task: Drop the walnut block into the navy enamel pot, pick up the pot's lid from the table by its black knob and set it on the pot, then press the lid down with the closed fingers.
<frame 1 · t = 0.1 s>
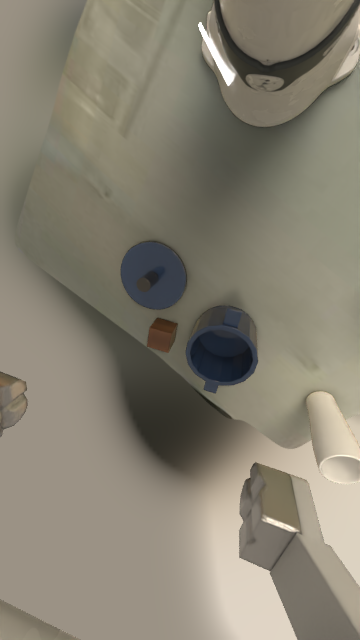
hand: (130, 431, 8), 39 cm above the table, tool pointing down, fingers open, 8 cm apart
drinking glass: (319, 399, 51), on the table
pot: (225, 333, 49), on the table
lid: (153, 276, 47), point 1 cm above the table
block: (165, 329, 53), on the table
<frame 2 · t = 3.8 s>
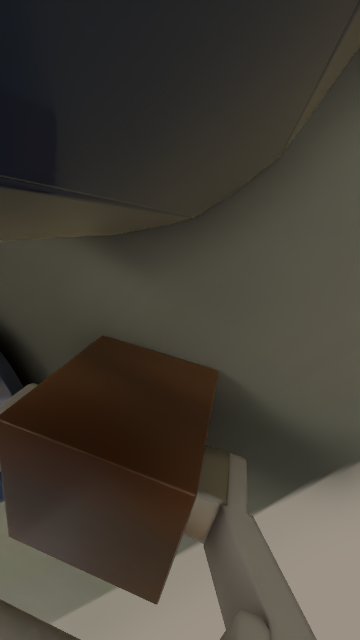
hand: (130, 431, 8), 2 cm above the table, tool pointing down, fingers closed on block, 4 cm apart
block: (149, 399, 10), on the table, touching gripper
when the fingers open (9 cm above the table, at t = 9.3 s): block stays where it is, resting on pot.
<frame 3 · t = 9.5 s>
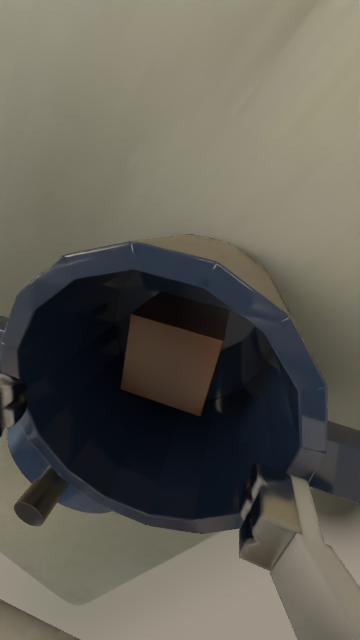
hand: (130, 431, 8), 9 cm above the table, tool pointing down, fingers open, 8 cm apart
pot: (189, 329, 17), on the table
lid: (70, 458, 24), point 1 cm above the table
block: (186, 332, 16), resting on pot
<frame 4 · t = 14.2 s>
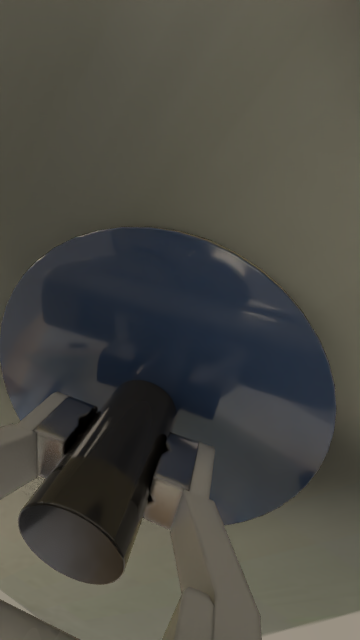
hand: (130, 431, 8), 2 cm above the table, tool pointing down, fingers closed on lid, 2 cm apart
lid: (149, 398, 10), point 1 cm above the table, touching gripper
when the fingers open (10 cm above the table, at t = 19.8 s): lid stays where it is, resting on pot.
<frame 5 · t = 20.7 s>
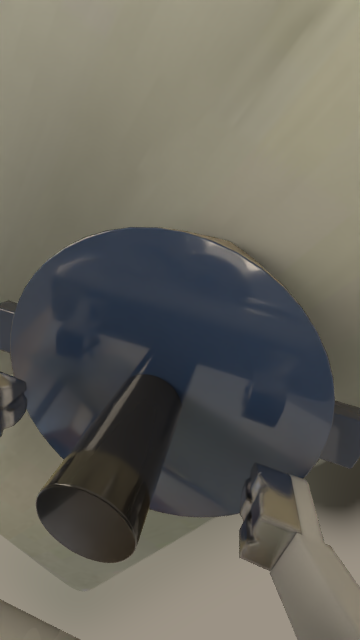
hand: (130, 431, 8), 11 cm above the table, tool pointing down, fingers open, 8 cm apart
pot: (192, 321, 18), on the table
lid: (154, 392, 10), point 8 cm above the table, touching pot
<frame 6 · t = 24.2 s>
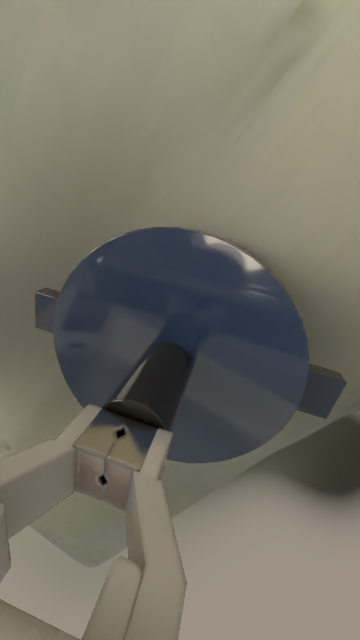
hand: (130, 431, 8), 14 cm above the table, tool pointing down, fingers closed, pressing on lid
pot: (196, 309, 21), on the table
lid: (170, 359, 13), point 8 cm above the table, touching gripper, pot
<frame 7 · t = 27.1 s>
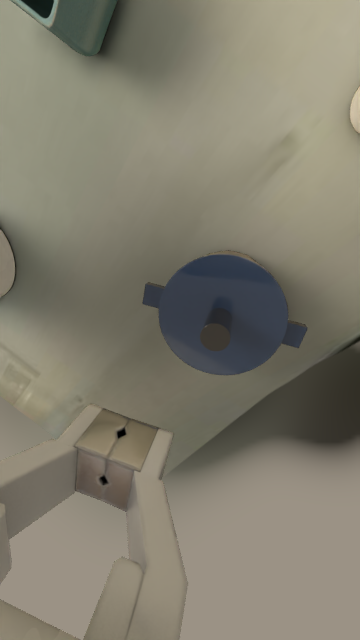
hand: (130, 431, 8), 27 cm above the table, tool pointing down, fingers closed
pot: (224, 296, 34), on the table
lid: (219, 317, 26), point 8 cm above the table, touching pot
flower pot: (90, 16, 27), on the table
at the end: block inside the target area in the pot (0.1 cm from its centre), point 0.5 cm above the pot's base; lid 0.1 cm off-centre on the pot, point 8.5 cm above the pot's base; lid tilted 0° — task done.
